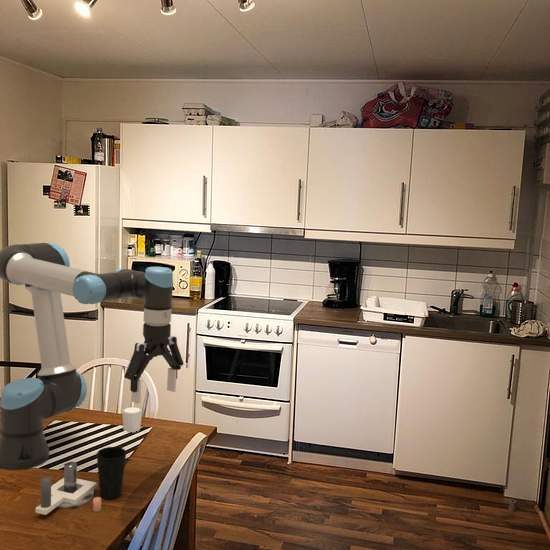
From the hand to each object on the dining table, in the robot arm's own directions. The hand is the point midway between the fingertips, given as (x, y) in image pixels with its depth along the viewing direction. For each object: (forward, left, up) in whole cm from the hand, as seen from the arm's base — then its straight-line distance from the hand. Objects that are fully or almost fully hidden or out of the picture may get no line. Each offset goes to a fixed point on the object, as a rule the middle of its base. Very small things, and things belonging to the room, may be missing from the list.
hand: (154, 396), depth 169 cm
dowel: (-5, -20, -25) cm, 32 cm away
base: (-15, -17, -25) cm, 34 cm away
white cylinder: (-24, +29, -25) cm, 45 cm away
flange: (-15, -21, -24) cm, 35 cm away
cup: (-6, -12, -25) cm, 28 cm away
